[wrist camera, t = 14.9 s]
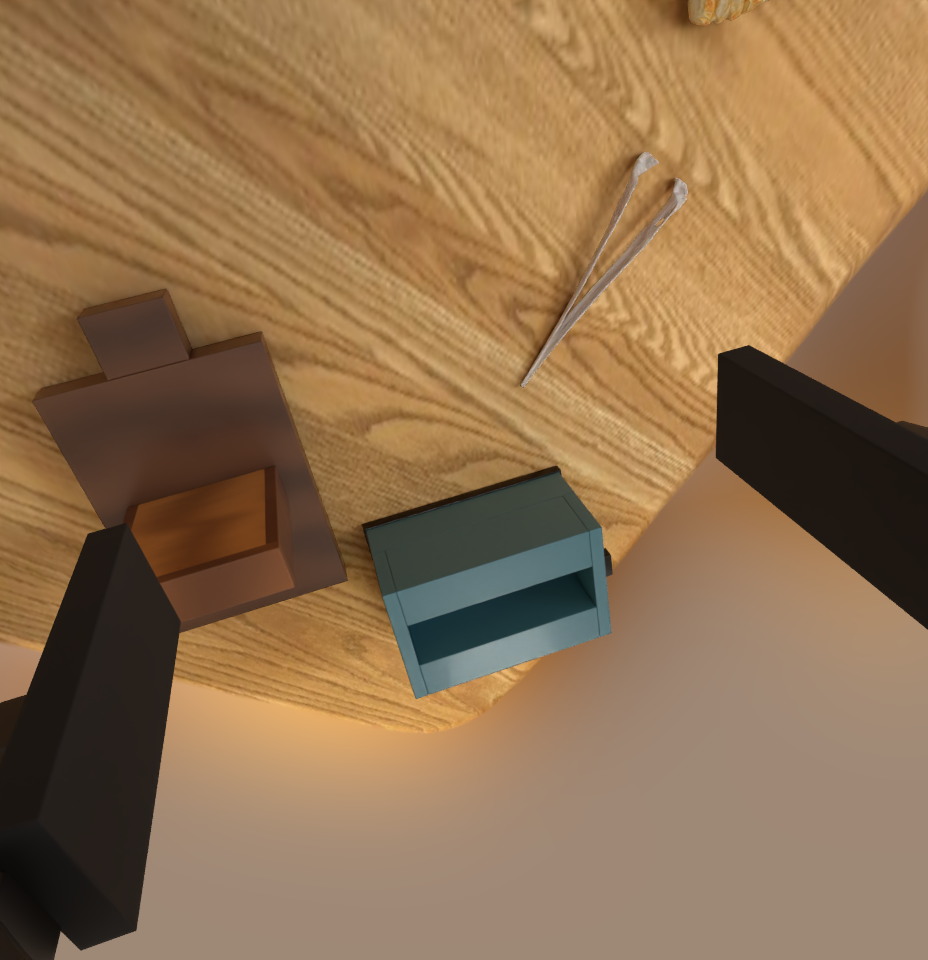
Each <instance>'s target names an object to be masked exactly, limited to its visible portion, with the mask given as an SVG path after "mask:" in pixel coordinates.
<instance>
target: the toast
mask: <svg viewBox="0 0 928 960" xmlns="http://www.w3.org/2000/svg"><path fill="white" fill-rule="evenodd" d="M124 523H127V524H128V526H129V528H130V530H131V531H132V533H133V535H134V537H135V539H136V541H137V542H138V544H139V546H140V548H141V550H142V551H143V553H144V555H145V557H146V559H147V561H148V562H149V564H150V566H151V568H152V570H153V571H154V573H155V575H156V577H157V579H158V581H159V582H160V584H161V586H162V588H163V590H164V591H165V593H166V595H167V597H168V599H169V601H170V602H171V604H172V606H173V608H174V610H175V612H176V613H177V615H178V617H179V619H180V621H181V622H184V621H187V620H191V619H194V618H197V617H200V616H203V615H207V614H210V613H213V612H216V611H220V610H223V609H226V608H229V607H233V606H236V605H239V604H242V603H245V602H249V601H252V600H255V599H258V598H262V597H265V596H268V595H271V594H275V593H278V592H281V591H284V590H288V589H291V588H294V587H295V577H294V564H293V550H292V537H291V523H290V510H289V500H288V497H287V495H286V492H285V489H284V487H283V484H282V482H281V479H280V477H279V474H278V471H277V469H276V467H275V466H272V467H269V468H265V469H262V470H259V471H255V472H252V473H248V474H245V475H241V476H238V477H234V478H231V479H227V480H224V481H220V482H217V483H213V484H210V485H206V486H203V487H199V488H196V489H192V490H189V491H185V492H182V493H178V494H175V495H171V496H168V497H164V498H161V499H157V500H154V501H150V502H147V503H143V504H140V505H136V506H132V507H129V508H127V510H126V513H125V516H124V520H123V523H122V524H124Z"/></svg>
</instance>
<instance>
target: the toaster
mask: <svg viewBox="0 0 928 960" xmlns="http://www.w3.org/2000/svg"><path fill="white" fill-rule="evenodd" d="M362 527H363V531H364V534H365V537H366V540H367V544H368V547H369V550H370V553H371V556H372V559H373V562H374V565H375V569H376V574H377V578H378V582H379V586H380V590H381V594H382V598H383V601H384V604H385V607H386V610H387V613H388V616H389V619H390V622H391V625H392V628H393V631H394V634H395V637H396V640H397V644H398V647H399V650H400V653H401V656H402V659H403V662H404V665H405V668H406V671H407V674H408V677H409V680H410V683H411V686H412V689H413V692H414V695H415V698H416V699H418V698H421V697H424V696H427V695H428V694H429V695H430V694H433V693H436V692H438V691H441V690H444V689H447V688H450V687H453V686H456V685H459V684H462V683H465V682H468V681H471V680H474V679H477V678H480V677H483V676H486V675H489V674H492V673H495V672H498V671H501V670H504V669H507V668H510V667H513V666H516V665H519V664H521V663H524V662H527V661H530V660H533V659H536V658H539V657H542V656H545V655H548V654H551V653H554V652H557V651H560V650H563V649H566V648H569V647H572V646H575V645H578V644H581V643H584V642H587V641H590V640H592V639H596V638H599V637H601V636H604V635H607V634H610V633H611V623H610V612H609V602H608V591H607V580H606V576H610V575H612V562H611V555H610V553H609V552H608V551H607V549H606V548H604V547H603V536H602V527H601V526H600V525H599V523H598V522H597V521H596V519H595V518H594V517H593V516H592V514H591V513H590V512H589V511H588V509H587V508H586V507H585V505H584V504H583V503H582V502H581V500H580V499H579V498H578V496H577V495H576V494H575V493H574V491H573V490H572V489H571V487H570V486H569V485H568V484H567V482H566V481H565V480H564V478H563V477H562V476H561V470H560V469H559V467H558V466H555V467H552V468H548V469H545V470H542V471H538V472H535V473H532V474H529V475H525V476H522V477H519V478H515V479H512V480H509V481H505V482H502V483H499V484H495V485H492V486H489V487H485V488H482V489H479V490H475V491H472V492H469V493H466V494H462V495H459V496H456V497H452V498H449V499H446V500H442V501H439V502H436V503H432V504H429V505H426V506H422V507H419V508H416V509H412V510H409V511H406V512H403V513H399V514H396V515H393V516H389V517H386V518H383V519H379V520H376V521H373V522H369V523H366V524H363V525H362Z"/></svg>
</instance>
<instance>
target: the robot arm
mask: <svg viewBox="0 0 928 960" xmlns="http://www.w3.org/2000/svg"><path fill="white" fill-rule="evenodd" d="M716 458H717V459H718V460H719V461H720V462H722V463H723V464H724V465H725V466H727V467H728V468H729V469H730V470H732V471H733V472H734V473H735V474H736V475H738V476H739V477H740V478H741V479H743V480H744V481H745V482H746V483H748V484H749V485H750V486H751V487H752V488H754V489H755V490H756V491H757V492H759V493H760V494H761V495H762V496H764V497H765V498H766V499H767V500H769V501H770V502H771V503H772V504H773V505H775V506H776V507H777V508H778V509H780V510H781V511H782V512H783V513H785V514H786V515H787V516H788V517H789V518H791V519H792V520H793V521H794V522H796V523H797V524H798V525H799V526H801V527H802V528H803V529H804V530H806V531H807V532H808V533H809V534H810V535H812V536H813V537H814V538H815V539H817V540H818V541H819V542H820V543H822V544H823V545H824V546H825V547H826V548H828V549H829V550H830V551H831V552H833V553H834V554H835V555H836V556H838V557H839V558H840V559H841V560H842V561H844V562H845V563H846V564H848V565H849V566H850V567H851V568H852V569H854V570H855V571H856V572H857V573H859V574H860V575H861V576H862V577H864V578H865V579H866V580H867V581H868V582H870V583H871V584H872V585H873V586H875V587H876V588H877V589H878V590H879V591H881V592H882V593H883V594H885V595H886V596H887V597H888V598H889V599H891V600H892V601H893V602H895V603H896V604H897V605H898V606H899V607H900V608H902V609H903V610H904V611H905V612H907V613H908V614H909V615H910V616H912V617H913V618H914V619H915V620H917V621H918V622H919V623H920V624H921V625H923V626H924V627H925V628H926V629H928V427H924V426H920V425H916V424H912V423H908V422H905V421H900V422H897V423H896V422H894V421H892V420H890V419H888V418H886V417H884V416H882V415H880V414H878V413H877V412H875V411H873V410H871V409H869V408H867V407H865V406H863V405H861V404H860V403H858V402H856V401H854V400H852V399H850V398H848V397H846V396H844V395H842V394H841V393H839V392H837V391H835V390H833V389H831V388H829V387H827V386H825V385H823V384H822V383H820V382H818V381H816V380H814V379H812V378H810V377H808V376H806V375H805V374H803V373H801V372H799V371H797V370H795V369H793V368H791V367H789V366H787V365H786V364H784V363H782V362H780V361H778V360H776V359H774V358H772V357H770V356H768V355H767V354H765V353H763V352H761V351H759V350H757V349H755V348H753V347H751V346H749V345H748V346H744V347H741V348H737V349H734V350H730V351H727V352H723V353H720V354H718V383H717V428H716ZM180 625H181V621H180V619H179V617H178V615H177V613H176V612H175V610H174V608H173V606H172V604H171V602H170V601H169V599H168V597H167V595H166V593H165V591H164V590H163V588H162V586H161V584H160V582H159V581H158V579H157V577H156V575H155V573H154V571H153V570H152V568H151V566H150V564H149V562H148V561H147V559H146V557H145V555H144V553H143V551H142V550H141V548H140V546H139V544H138V542H137V541H136V539H135V537H134V535H133V533H132V531H131V530H130V528H129V526H128V524H127V523H124V524H121V525H117V526H114V527H110V528H107V529H103V530H100V531H96V532H93V533H89V534H88V535H87V537H86V540H85V543H84V545H83V548H82V551H81V553H80V556H79V558H78V561H77V564H76V566H75V569H74V571H73V574H72V577H71V579H70V582H69V585H68V587H67V590H66V592H65V595H64V598H63V600H62V603H61V606H60V608H59V611H58V613H57V616H56V619H55V621H54V624H53V627H52V629H51V632H50V634H49V637H48V640H47V642H46V645H45V648H44V650H43V653H42V655H41V658H40V661H39V663H38V666H37V669H36V671H35V674H34V677H33V679H32V682H31V684H30V687H29V690H28V692H27V695H24V696H21V697H17V698H14V699H11V700H8V701H4V702H1V703H0V960H54V957H55V953H56V948H57V944H58V940H59V936H60V931H61V932H62V933H64V934H65V935H66V937H68V939H70V940H71V941H72V942H73V943H74V944H75V945H76V946H77V947H78V948H79V949H80V950H83V949H86V948H89V947H92V946H95V945H97V944H100V943H103V942H106V941H109V940H112V939H114V938H117V937H120V936H123V935H125V934H128V933H131V932H134V931H136V929H137V922H138V915H139V908H140V901H141V895H142V887H143V881H144V874H145V867H146V859H147V853H148V846H149V839H150V832H151V825H152V819H153V812H154V805H155V798H156V790H157V784H158V777H159V769H160V763H161V755H162V749H163V742H164V736H165V729H166V721H167V715H168V708H169V701H170V694H171V687H172V680H173V673H174V666H175V659H176V653H177V646H178V639H179V632H180Z"/></svg>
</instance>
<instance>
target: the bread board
mask: <svg viewBox="0 0 928 960" xmlns="http://www.w3.org/2000/svg"><path fill="white" fill-rule="evenodd" d="M77 320H78V322H79V324H80V326H81V328H82V330H83V332H84V334H85V336H86V338H87V340H88V342H89V344H90V346H91V348H92V350H93V352H94V354H95V356H96V358H97V360H98V362H99V364H100V366H101V368H102V370H103V372H104V373H100V374H97V375H93V376H89V377H85V378H81V379H77V380H74V381H70V382H66V383H62V384H58V385H54V386H51V387H47V388H43V389H41V390H40V391H39V392H38V394H37V395H36V397H35V398H34V399H33V401H32V402H33V403H34V405H35V407H36V409H37V410H38V412H39V414H40V416H41V417H42V419H43V421H44V423H45V424H46V426H47V428H48V430H49V431H50V433H51V435H52V436H53V438H54V440H55V442H56V443H57V445H58V447H59V449H60V450H61V452H62V454H63V456H64V457H65V459H66V461H67V462H68V464H69V466H70V468H71V469H72V471H73V473H74V475H75V476H76V478H77V480H78V482H79V483H80V485H81V487H82V488H83V490H84V492H85V494H86V495H87V497H88V499H89V501H90V502H91V504H92V506H93V508H94V509H95V511H96V513H97V514H98V516H99V518H100V520H101V521H102V523H103V525H104V527H105V528H106V529H107V528H110V527H114V526H117V525H121V524H122V523H123V520H124V516H125V513H126V510H127V508H129V507H132V506H136V505H140V504H143V503H147V502H150V501H154V500H157V499H161V498H164V497H168V496H171V495H175V494H178V493H182V492H185V491H189V490H192V489H196V488H199V487H203V486H206V485H210V484H213V483H217V482H220V481H224V480H227V479H231V478H234V477H238V476H241V475H245V474H248V473H252V472H255V471H259V470H262V469H265V468H269V467H272V466H275V467H276V469H277V471H278V474H279V477H280V479H281V482H282V484H283V487H284V489H285V492H286V495H287V497H288V500H289V510H290V523H291V537H292V550H293V564H294V577H295V587H294V588H291V589H288V590H284V591H281V592H278V593H275V594H271V595H268V596H265V597H262V598H258V599H255V600H252V601H249V602H245V603H242V604H239V605H236V606H233V607H229V608H226V609H223V610H220V611H216V612H213V613H210V614H207V615H203V616H200V617H197V618H194V619H191V620H187V621H184V622H181V625H180V632H179V633H181V632H184V631H188V630H191V629H194V628H197V627H200V626H204V625H207V624H210V623H213V622H217V621H220V620H223V619H226V618H229V617H233V616H236V615H239V614H242V613H245V612H249V611H252V610H255V609H258V608H262V607H265V606H268V605H271V604H274V603H278V602H281V601H284V600H287V599H290V598H294V597H297V596H300V595H303V594H307V593H310V592H313V591H316V590H319V589H323V588H326V587H329V586H332V585H335V584H339V583H342V582H345V581H348V579H347V573H346V568H345V564H344V561H343V558H342V556H341V553H340V550H339V547H338V544H337V542H336V539H335V536H334V533H333V530H332V527H331V525H330V522H329V519H328V516H327V513H326V511H325V508H324V505H323V502H322V499H321V497H320V494H319V491H318V488H317V485H316V482H315V480H314V477H313V474H312V471H311V468H310V466H309V463H308V460H307V457H306V454H305V452H304V449H303V446H302V443H301V440H300V438H299V435H298V432H297V429H296V426H295V423H294V421H293V418H292V415H291V412H290V409H289V407H288V404H287V401H286V398H285V395H284V393H283V390H282V387H281V384H280V381H279V378H278V376H277V373H276V370H275V367H274V364H273V362H272V359H271V356H270V353H269V350H268V348H267V345H266V342H265V339H264V336H263V334H262V332H258V333H254V334H250V335H246V336H242V337H238V338H235V339H231V340H227V341H223V342H219V343H215V344H212V345H208V346H204V347H200V348H196V349H192V347H191V345H190V343H189V340H188V338H187V335H186V333H185V331H184V328H183V326H182V324H181V321H180V319H179V316H178V314H177V312H176V309H175V307H174V304H173V302H172V300H171V297H170V295H169V292H168V290H167V289H163V290H159V291H155V292H151V293H147V294H143V295H139V296H135V297H131V298H127V299H123V300H119V301H115V302H111V303H107V304H103V305H99V306H95V307H91V308H87V309H84V310H83V311H82V313H81V314H80V315H79V316H78V318H77Z"/></svg>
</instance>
